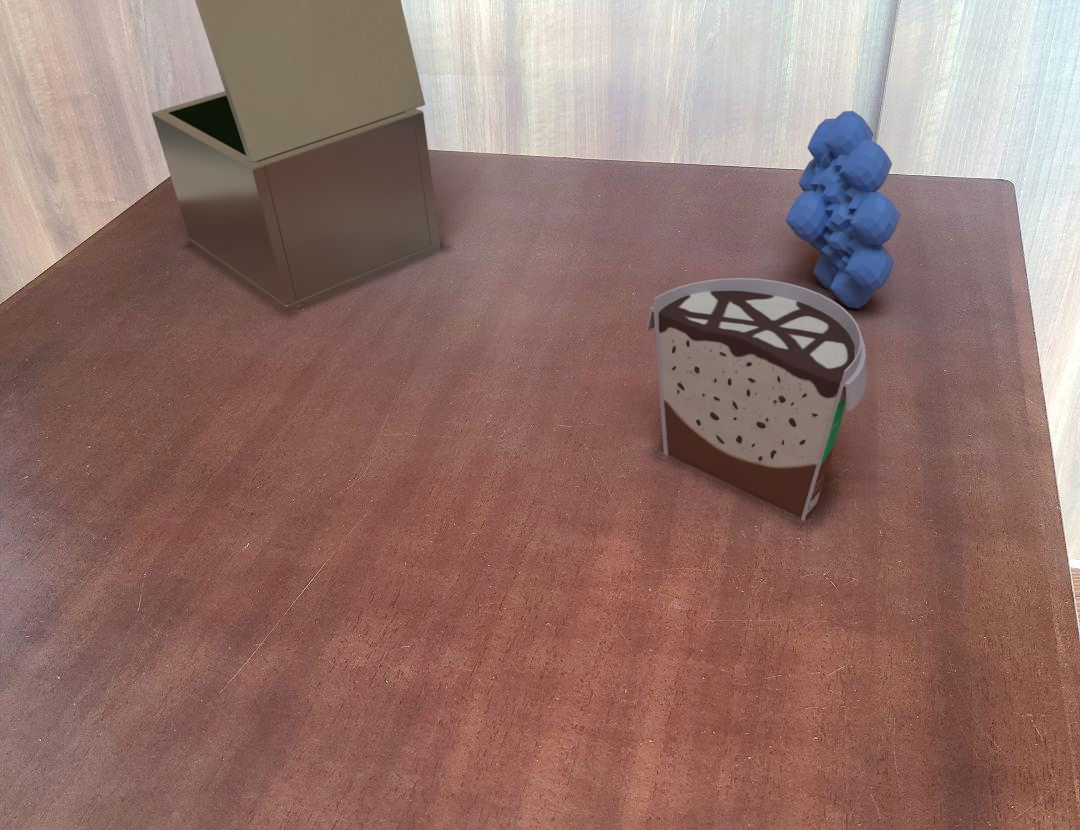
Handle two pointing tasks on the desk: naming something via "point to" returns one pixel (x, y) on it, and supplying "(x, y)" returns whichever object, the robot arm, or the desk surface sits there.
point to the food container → (756, 383)
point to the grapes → (846, 209)
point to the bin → (302, 201)
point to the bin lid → (310, 67)
